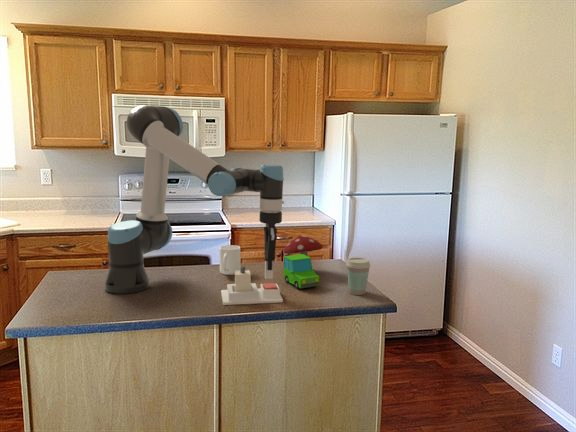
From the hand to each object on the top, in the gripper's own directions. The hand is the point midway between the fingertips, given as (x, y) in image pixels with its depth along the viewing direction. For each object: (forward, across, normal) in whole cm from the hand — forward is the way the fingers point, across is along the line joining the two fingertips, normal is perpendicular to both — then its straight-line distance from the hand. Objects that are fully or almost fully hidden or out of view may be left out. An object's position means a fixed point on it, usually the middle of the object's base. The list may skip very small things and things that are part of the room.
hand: (268, 278), depth 169 cm
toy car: (+7, +11, -14) cm, 19 cm away
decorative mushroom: (+7, +28, -18) cm, 34 cm away
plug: (+6, 0, +9) cm, 11 cm away
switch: (+5, 0, -1) cm, 5 cm away
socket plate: (+7, 0, +6) cm, 9 cm away
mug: (+7, +29, +12) cm, 32 cm away
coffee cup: (+6, 0, -32) cm, 33 cm away
